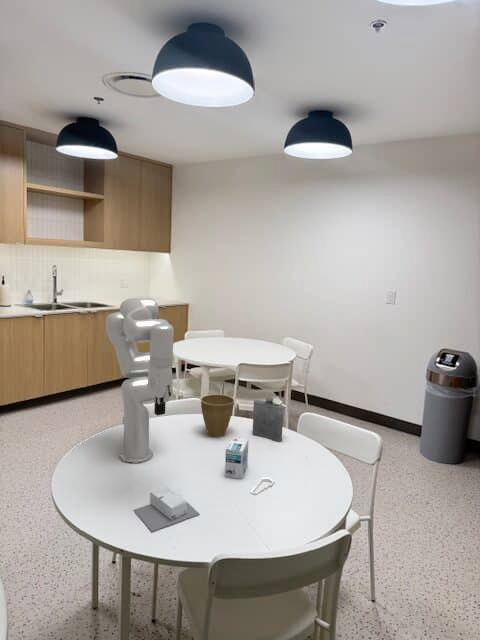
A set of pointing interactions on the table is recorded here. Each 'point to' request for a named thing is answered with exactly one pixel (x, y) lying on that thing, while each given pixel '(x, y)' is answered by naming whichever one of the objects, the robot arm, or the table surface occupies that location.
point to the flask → (268, 419)
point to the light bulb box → (236, 458)
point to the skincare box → (168, 502)
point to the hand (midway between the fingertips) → (159, 413)
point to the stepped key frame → (263, 479)
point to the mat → (161, 517)
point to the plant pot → (217, 413)
